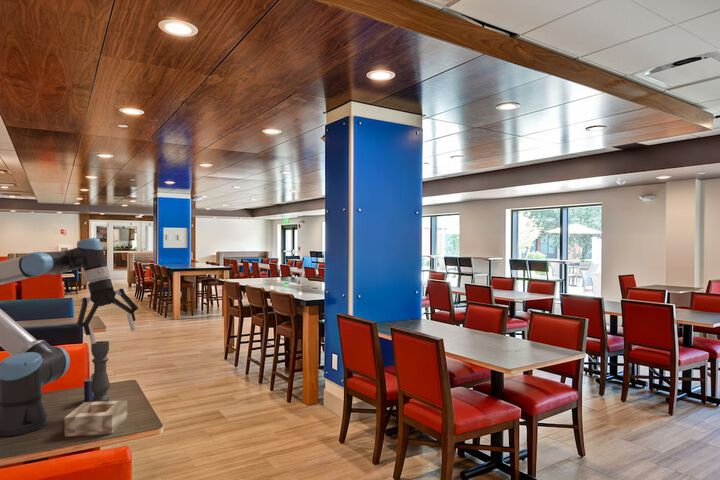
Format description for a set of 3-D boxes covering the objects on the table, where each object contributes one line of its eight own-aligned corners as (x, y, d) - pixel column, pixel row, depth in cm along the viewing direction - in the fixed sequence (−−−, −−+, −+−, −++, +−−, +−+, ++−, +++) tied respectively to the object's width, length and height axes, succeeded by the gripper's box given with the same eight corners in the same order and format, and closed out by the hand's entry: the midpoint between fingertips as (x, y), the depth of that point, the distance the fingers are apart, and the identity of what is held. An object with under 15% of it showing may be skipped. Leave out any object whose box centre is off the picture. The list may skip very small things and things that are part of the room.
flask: (95, 396, 184) (95, 369, 184) (103, 396, 185) (103, 369, 184) (82, 405, 175) (82, 376, 175) (90, 405, 175) (90, 376, 175)
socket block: (64, 436, 147) (64, 417, 147) (84, 419, 161) (84, 402, 161) (112, 433, 149) (112, 415, 149) (127, 417, 163) (127, 400, 163)
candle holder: (92, 411, 169) (92, 341, 170) (111, 408, 171) (111, 340, 172) (88, 416, 163) (88, 344, 164) (108, 414, 165) (108, 343, 166)
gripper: (62, 288, 157) (78, 348, 158) (137, 271, 175) (152, 325, 175) (57, 290, 163) (73, 348, 163) (131, 273, 180) (145, 326, 180)
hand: (114, 337), depth 169 cm, fingers open, 13 cm apart
